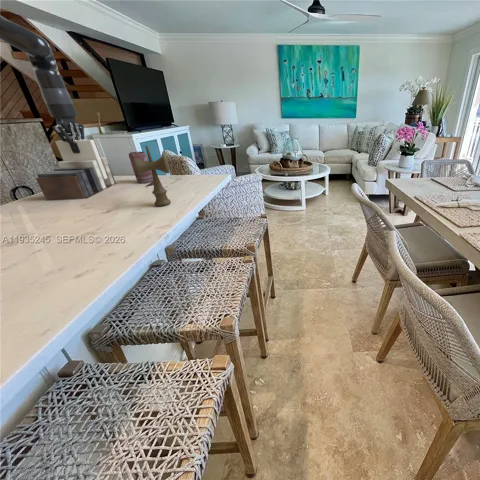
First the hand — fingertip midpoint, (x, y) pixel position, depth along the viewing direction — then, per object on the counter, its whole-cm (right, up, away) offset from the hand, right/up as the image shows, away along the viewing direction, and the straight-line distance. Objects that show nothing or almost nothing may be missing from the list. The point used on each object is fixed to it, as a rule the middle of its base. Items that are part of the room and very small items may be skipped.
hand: (79, 152), depth 103 cm
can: (+17, -10, +14) cm, 24 cm away
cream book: (0, -9, +5) cm, 11 cm away
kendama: (+38, -22, -9) cm, 45 cm away
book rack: (+1, -16, +2) cm, 16 cm away
